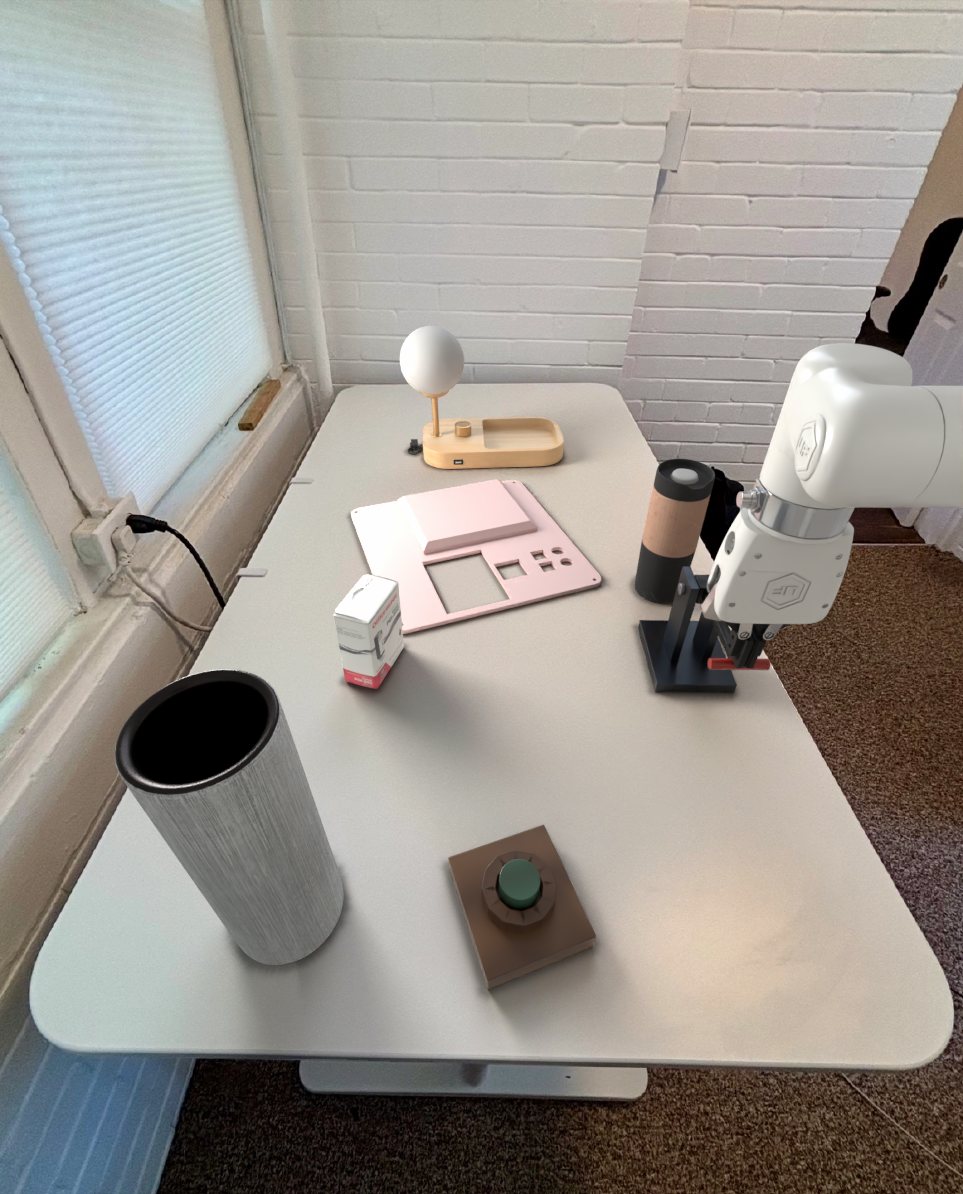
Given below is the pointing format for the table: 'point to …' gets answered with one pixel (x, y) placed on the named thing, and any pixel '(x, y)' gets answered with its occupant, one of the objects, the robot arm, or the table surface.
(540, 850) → the block
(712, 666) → the lever
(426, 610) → the panel
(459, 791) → the table surface
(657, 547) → the travel mug
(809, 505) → the robot arm
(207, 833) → the vase
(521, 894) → the button
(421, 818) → the table surface
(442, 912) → the table surface
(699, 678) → the bracket
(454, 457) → the lamp
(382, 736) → the table surface
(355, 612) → the ink box
